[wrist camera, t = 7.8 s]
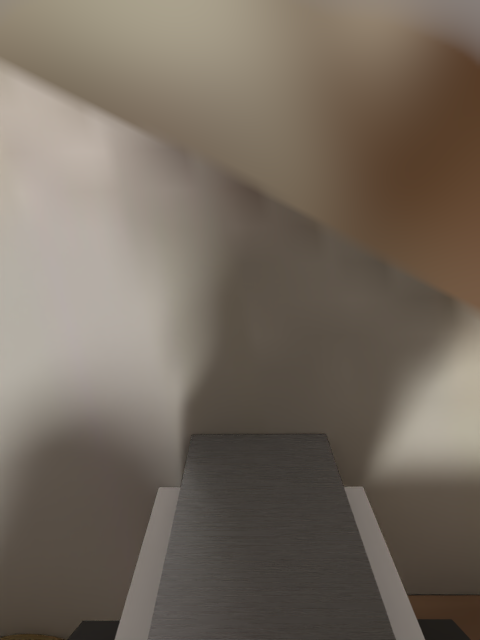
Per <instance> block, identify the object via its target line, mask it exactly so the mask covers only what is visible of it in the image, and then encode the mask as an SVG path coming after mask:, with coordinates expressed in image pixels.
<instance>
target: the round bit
mask: <svg viewBox="0 0 480 640" xmlns="http://www.w3.org/2000/svg"><path fill="white" fill-rule="evenodd" d="M0 640H65V639H61V638H57V637H53V636H47V635H39V634H17V635H10V636H4V637H0Z"/></svg>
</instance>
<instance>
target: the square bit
mask: <svg viewBox="0 0 480 640" xmlns="http://www.w3.org/2000/svg"><path fill="white" fill-rule="evenodd" d="M147 640H396V639H395V636H394V633H393V630H392V627H391V624H390V621H389V618H388V615H387V612H386V609H385V606H384V603H383V600H382V597H381V595H380V592H379V589H378V586H377V583H376V580H375V577H374V574H373V571H372V568H371V565H370V562H369V559H368V556H367V554H366V551H365V548H364V545H363V542H362V539H361V536H360V533H359V530H358V527H357V524H356V521H355V518H354V515H353V512H352V510H351V507H350V504H349V501H348V498H347V495H346V492H345V489H344V486H343V483H342V480H341V477H340V474H339V471H338V469H337V466H336V463H335V460H334V457H333V454H332V451H331V448H330V445H329V442H328V439H327V436H326V434H255V435H192V437H191V441H190V446H189V451H188V455H187V460H186V464H185V469H184V474H183V478H182V483H181V487H180V492H179V497H178V501H177V506H176V510H175V515H174V520H173V524H172V529H171V533H170V538H169V543H168V547H167V552H166V556H165V561H164V566H163V570H162V575H161V579H160V584H159V589H158V593H157V598H156V602H155V607H154V612H153V616H152V621H151V625H150V630H149V635H148V639H147Z"/></svg>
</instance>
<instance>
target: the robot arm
mask: <svg viewBox="0 0 480 640" xmlns="http://www.w3.org/2000/svg"><path fill="white" fill-rule="evenodd" d="M344 489H345V492H346V495H347V498H348V501H349V504H350V507H351V510H352V512H353V515H354V518H355V521H356V524H357V527H358V530H359V533H360V536H361V539H362V542H363V545H364V548H365V551H366V554H367V556H368V559H369V562H370V565H371V568H372V571H373V574H374V577H375V580H376V583H377V586H378V589H379V592H380V595H381V597H382V600H383V603H384V606H385V609H386V612H387V615H388V618H389V621H390V624H391V627H392V630H393V633H394V636H395V639H396V640H471V639H470V638H469V637H468V636H467V635H466V634H465V633H464V632H463V631H462V629H461V628H460V627H459V626H458V625H457V624H456V623H455V622H454V621H453V620H452V619H416V616H415V614H414V611H413V609H412V606H411V604H410V601H409V599H408V596H407V594H406V591H405V589H404V587H403V584H402V582H401V579H400V577H399V574H398V572H397V569H396V567H395V564H394V562H393V559H392V557H391V555H390V552H389V550H388V547H387V545H386V542H385V540H384V537H383V535H382V532H381V530H380V527H379V525H378V523H377V520H376V518H375V515H374V513H373V510H372V508H371V505H370V503H369V500H368V498H367V495H366V493H365V490H364V488H363V487H344ZM179 492H180V487H159V489H158V492H157V496H156V499H155V502H154V506H153V509H152V513H151V516H150V520H149V523H148V526H147V530H146V533H145V537H144V540H143V544H142V547H141V551H140V554H139V557H138V561H137V564H136V568H135V571H134V575H133V578H132V581H131V585H130V588H129V592H128V595H127V599H126V602H125V606H124V609H123V612H122V616H121V619H120V621H82V623H81V624H80V625H79V626H78V628H77V629H76V630H75V631H74V632H73V634H72V635H71V636H70V637H69V639H68V640H147V639H148V635H149V630H150V625H151V621H152V616H153V612H154V607H155V602H156V598H157V593H158V589H159V584H160V579H161V575H162V570H163V566H164V561H165V556H166V552H167V547H168V543H169V538H170V533H171V529H172V524H173V520H174V515H175V510H176V506H177V501H178V497H179Z"/></svg>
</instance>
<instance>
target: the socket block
mask: <svg viewBox="0 0 480 640" xmlns="http://www.w3.org/2000/svg"><path fill="white" fill-rule="evenodd" d="M407 596H408V599H409V601H410V604H411V606H412V609H413V611H414V614H415V616H416V619H452V620H453V621H454V622H455V623H456V624H457V625H458V626H459V627H460V628H461V629H462V631H463V632H464V633H465V634H466V635H467V636H468V637H469V638H470V639H471V640H480V595H407Z"/></svg>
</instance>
